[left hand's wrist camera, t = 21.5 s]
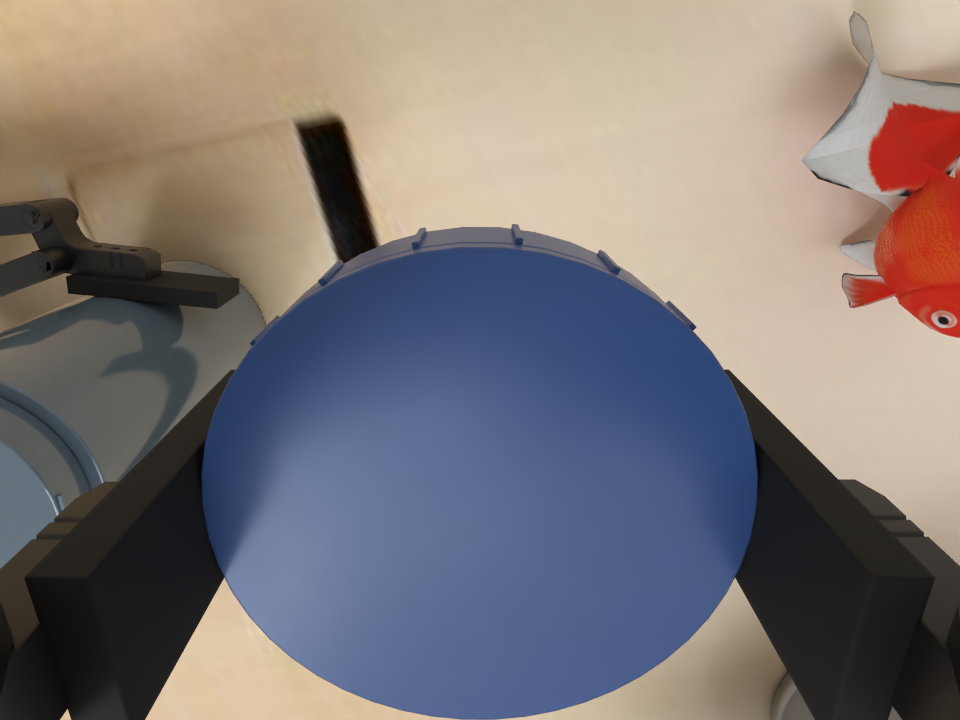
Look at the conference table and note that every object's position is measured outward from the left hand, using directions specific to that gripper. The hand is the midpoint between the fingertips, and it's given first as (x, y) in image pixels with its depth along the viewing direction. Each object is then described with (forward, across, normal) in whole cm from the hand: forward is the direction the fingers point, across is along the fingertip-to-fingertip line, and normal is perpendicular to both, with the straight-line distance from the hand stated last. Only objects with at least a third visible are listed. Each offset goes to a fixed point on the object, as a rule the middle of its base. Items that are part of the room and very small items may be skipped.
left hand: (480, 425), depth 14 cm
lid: (-3, 0, 0) cm, 3 cm away
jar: (+22, +17, +5) cm, 28 cm away
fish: (+22, -20, -4) cm, 30 cm away
